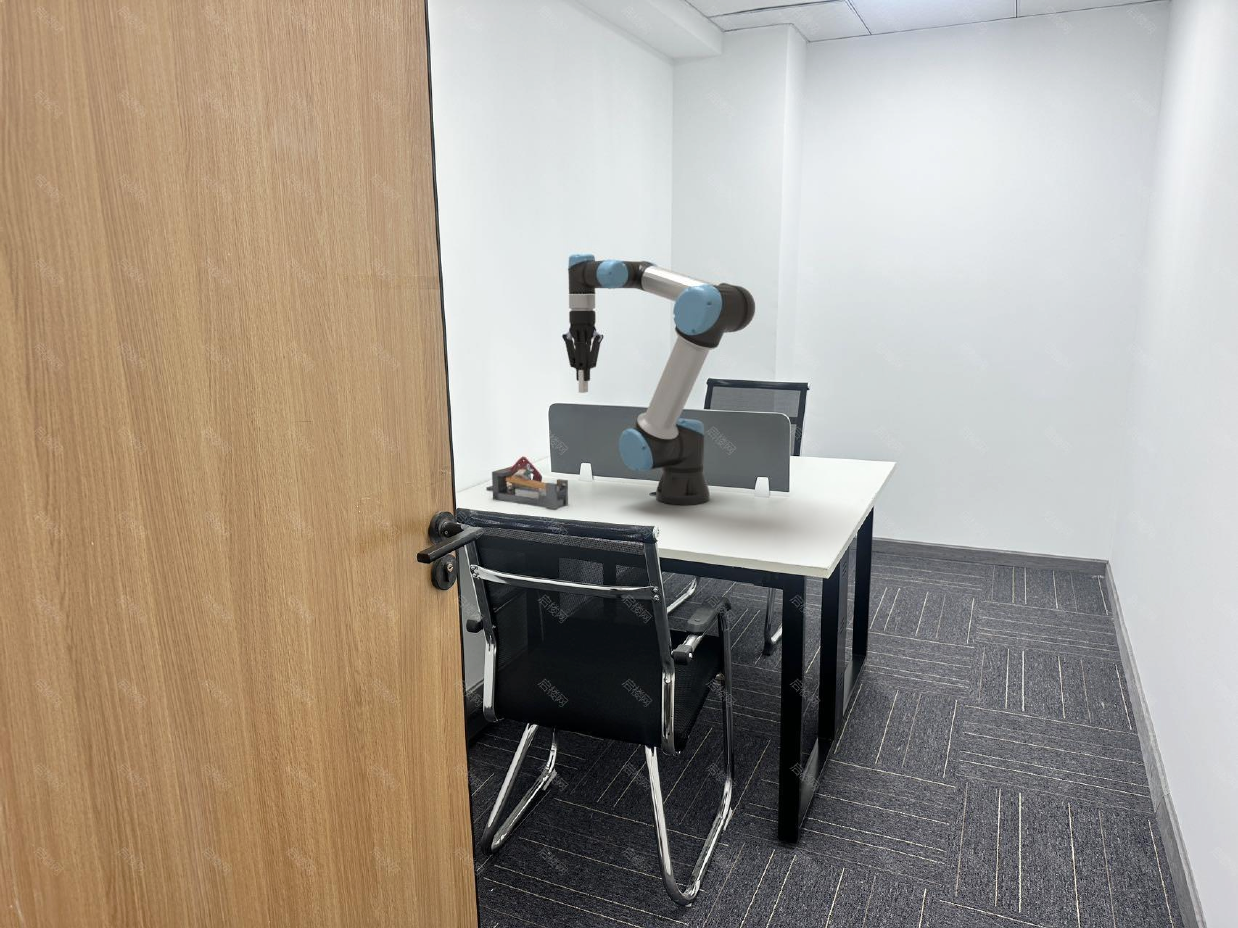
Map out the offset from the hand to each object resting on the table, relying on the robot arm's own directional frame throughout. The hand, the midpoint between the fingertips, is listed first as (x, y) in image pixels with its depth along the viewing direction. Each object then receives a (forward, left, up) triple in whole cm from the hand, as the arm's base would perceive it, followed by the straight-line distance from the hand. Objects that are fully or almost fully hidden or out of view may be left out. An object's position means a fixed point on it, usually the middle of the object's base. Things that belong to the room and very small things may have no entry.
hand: (583, 392), depth 245 cm
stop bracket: (+23, +8, -29) cm, 38 cm away
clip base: (+6, +20, -29) cm, 36 cm away
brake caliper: (+14, +12, -30) cm, 35 cm away
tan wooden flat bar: (+4, +20, -25) cm, 32 cm away
